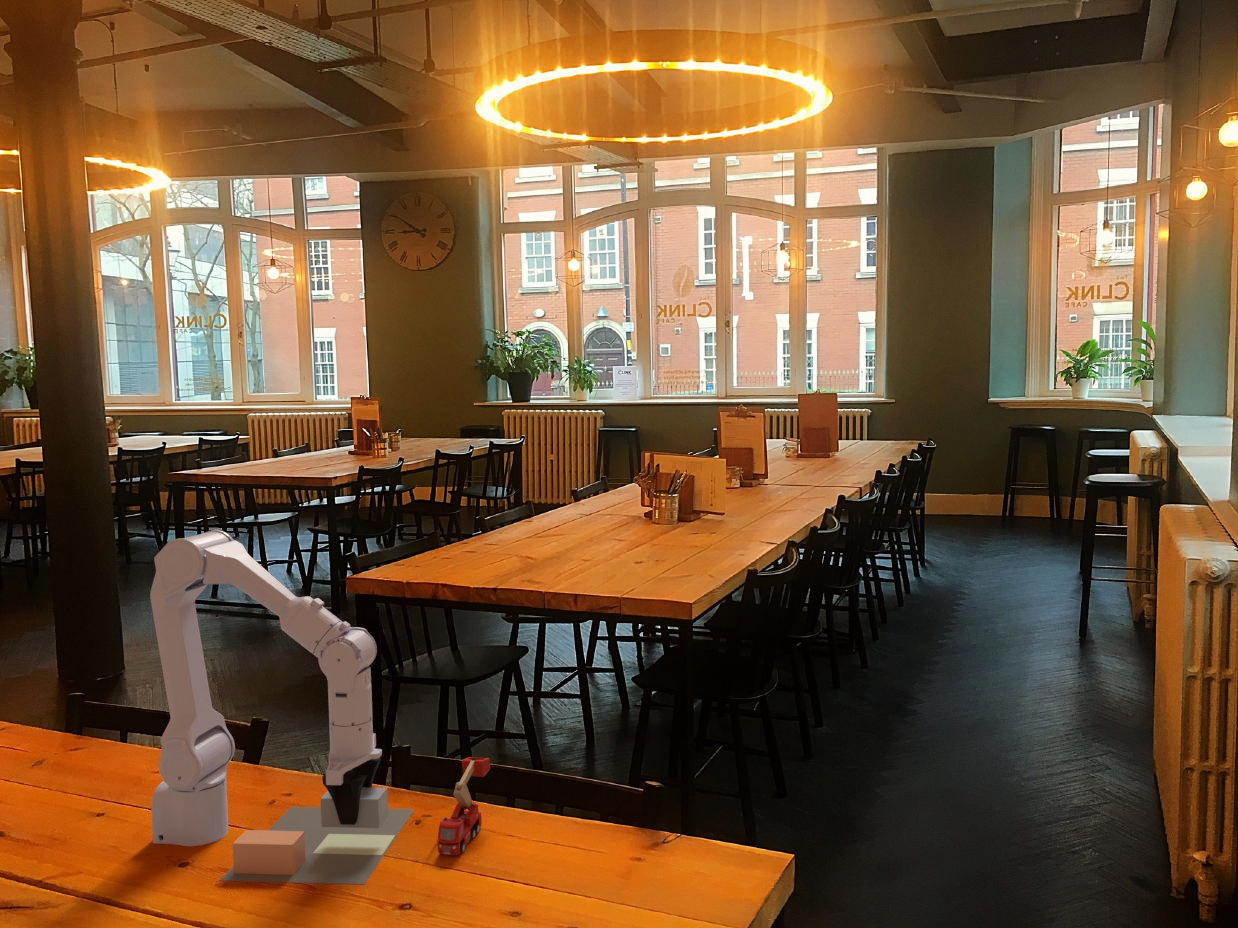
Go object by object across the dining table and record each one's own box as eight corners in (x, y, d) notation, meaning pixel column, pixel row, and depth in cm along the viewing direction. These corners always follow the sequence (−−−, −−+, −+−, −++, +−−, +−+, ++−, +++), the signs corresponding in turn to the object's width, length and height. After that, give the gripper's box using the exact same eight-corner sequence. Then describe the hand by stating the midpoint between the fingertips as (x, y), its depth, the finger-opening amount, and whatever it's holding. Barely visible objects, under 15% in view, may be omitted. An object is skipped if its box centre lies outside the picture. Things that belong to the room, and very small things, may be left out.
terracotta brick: (233, 873, 131) (232, 843, 130) (247, 858, 135) (246, 829, 134) (293, 874, 130) (292, 844, 130) (305, 860, 134) (304, 831, 134)
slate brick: (321, 827, 137) (320, 798, 136) (332, 814, 141) (331, 786, 140) (379, 828, 136) (378, 799, 136) (388, 815, 140) (387, 787, 140)
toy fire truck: (435, 857, 137) (433, 788, 136) (470, 815, 151) (468, 752, 150) (458, 859, 136) (457, 790, 136) (491, 817, 150) (490, 754, 149)
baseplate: (219, 889, 129) (219, 880, 129) (291, 814, 152) (291, 806, 152) (364, 893, 127) (364, 883, 127) (414, 817, 150) (414, 808, 150)
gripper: (361, 738, 130) (365, 840, 131) (395, 703, 144) (398, 795, 145) (308, 737, 130) (312, 839, 131) (347, 703, 145) (350, 794, 146)
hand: (354, 816), depth 138 cm, fingers closed on slate brick, 4 cm apart
